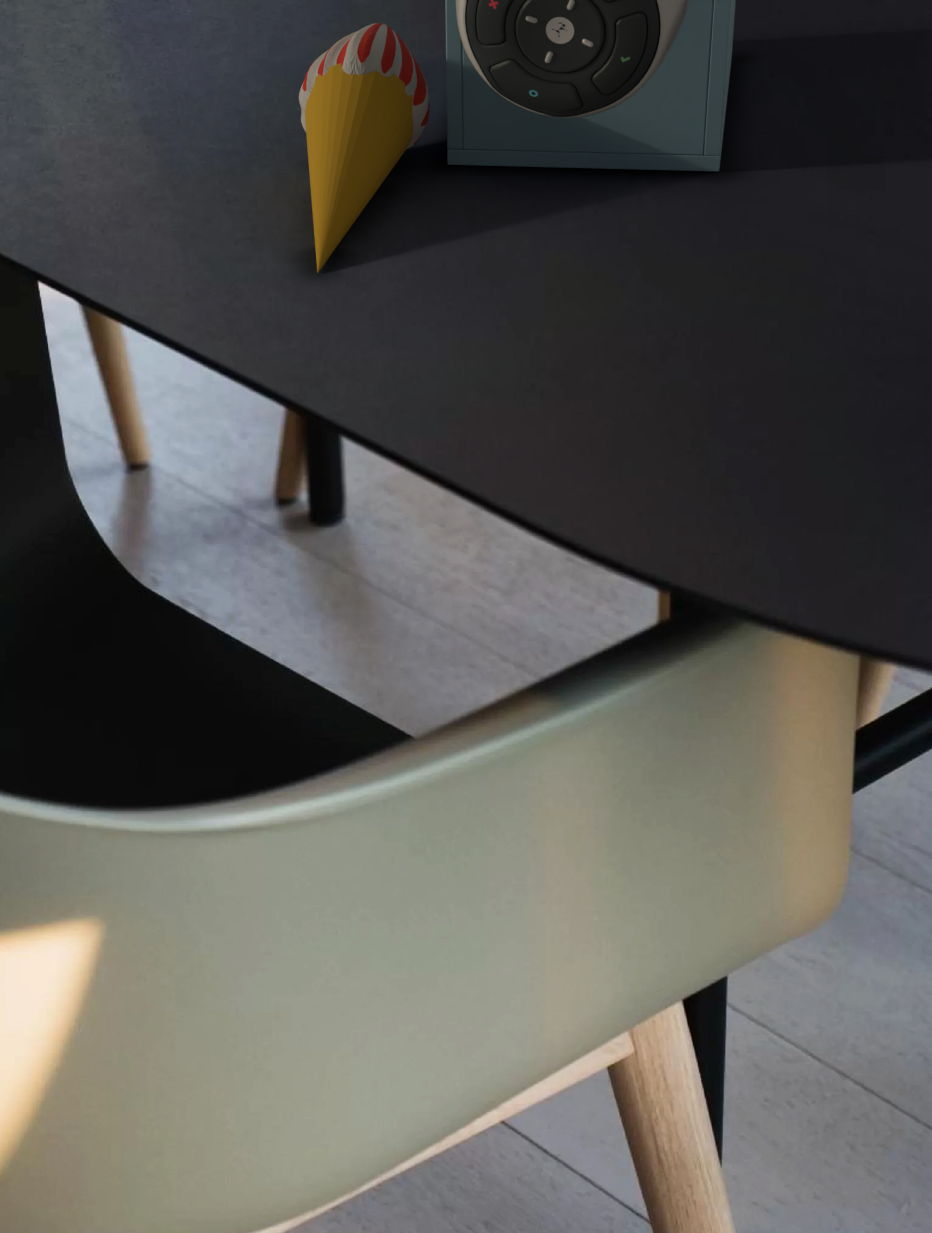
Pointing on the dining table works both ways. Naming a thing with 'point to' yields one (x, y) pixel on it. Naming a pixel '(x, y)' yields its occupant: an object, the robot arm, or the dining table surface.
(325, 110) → the ice cream cone
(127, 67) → the dining table surface
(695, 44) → the bin
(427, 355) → the dining table surface
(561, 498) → the dining table surface
